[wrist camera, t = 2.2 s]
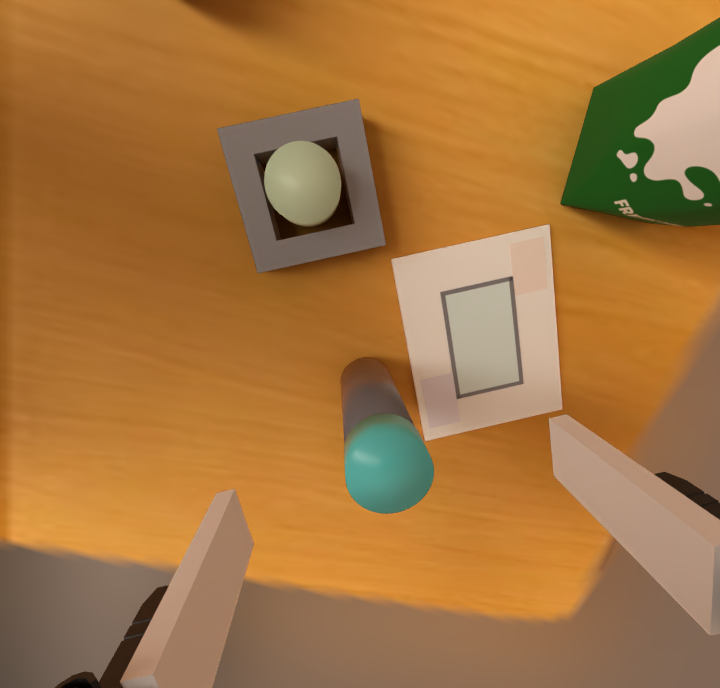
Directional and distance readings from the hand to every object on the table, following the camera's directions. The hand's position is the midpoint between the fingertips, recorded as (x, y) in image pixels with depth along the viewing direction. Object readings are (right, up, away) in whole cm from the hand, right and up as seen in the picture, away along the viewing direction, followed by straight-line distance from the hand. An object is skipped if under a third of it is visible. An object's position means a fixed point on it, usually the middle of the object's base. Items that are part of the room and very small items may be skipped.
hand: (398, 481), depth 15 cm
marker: (-1, +3, +12) cm, 12 cm away
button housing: (-5, +15, +8) cm, 18 cm away
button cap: (-5, +15, +7) cm, 17 cm away
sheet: (+7, +6, +12) cm, 15 cm away
